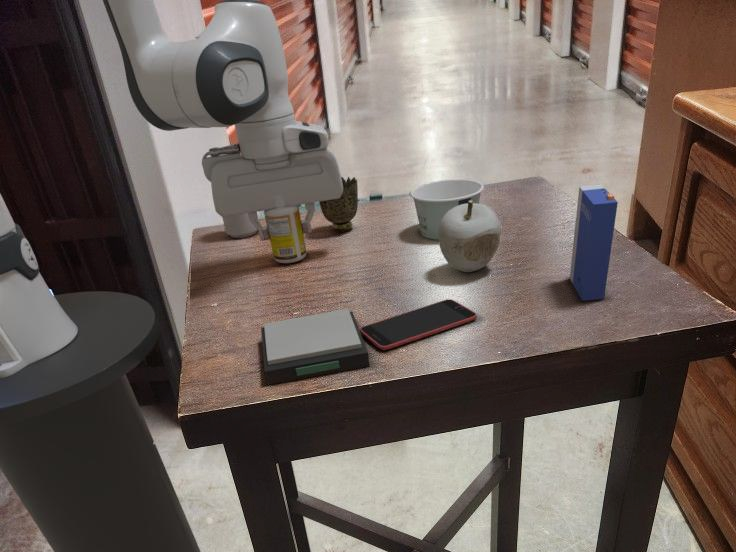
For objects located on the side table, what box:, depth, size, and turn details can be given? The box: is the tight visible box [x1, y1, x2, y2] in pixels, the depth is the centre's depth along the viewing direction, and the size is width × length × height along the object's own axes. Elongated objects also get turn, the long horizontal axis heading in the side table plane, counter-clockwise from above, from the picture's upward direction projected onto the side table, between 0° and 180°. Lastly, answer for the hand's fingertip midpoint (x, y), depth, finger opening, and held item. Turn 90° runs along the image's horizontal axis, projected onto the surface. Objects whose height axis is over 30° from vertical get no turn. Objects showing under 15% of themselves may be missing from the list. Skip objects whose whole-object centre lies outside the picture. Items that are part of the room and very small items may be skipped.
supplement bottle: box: [263, 195, 307, 264], centre depth 98 cm, size 6×6×10 cm
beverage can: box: [221, 213, 259, 239], centre depth 112 cm, size 6×6×12 cm
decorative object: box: [438, 200, 502, 273], centre depth 87 cm, size 9×9×10 cm
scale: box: [260, 308, 371, 386], centre depth 75 cm, size 12×12×2 cm
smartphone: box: [359, 298, 478, 351], centre depth 77 cm, size 7×1×14 cm
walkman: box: [569, 184, 618, 302], centre depth 77 cm, size 8×3×12 cm, turn 178°
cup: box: [318, 176, 359, 233], centre depth 108 cm, size 8×7×8 cm
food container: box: [410, 178, 485, 241], centre depth 102 cm, size 12×12×6 cm
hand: (286, 235), depth 99 cm, fingers closed on supplement bottle, 5 cm apart
